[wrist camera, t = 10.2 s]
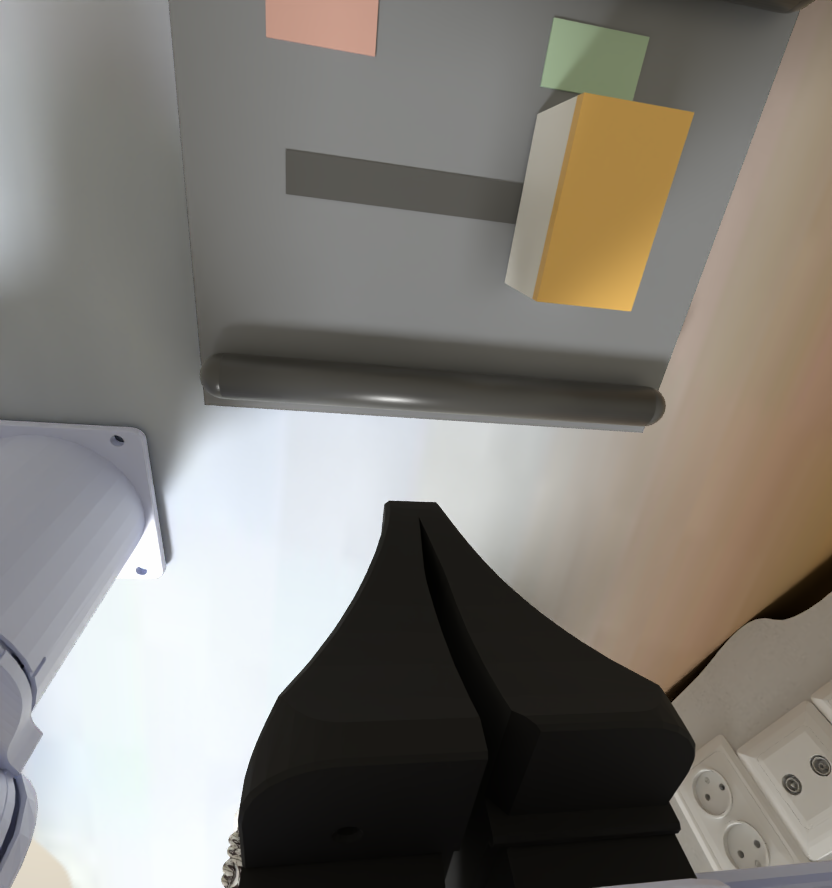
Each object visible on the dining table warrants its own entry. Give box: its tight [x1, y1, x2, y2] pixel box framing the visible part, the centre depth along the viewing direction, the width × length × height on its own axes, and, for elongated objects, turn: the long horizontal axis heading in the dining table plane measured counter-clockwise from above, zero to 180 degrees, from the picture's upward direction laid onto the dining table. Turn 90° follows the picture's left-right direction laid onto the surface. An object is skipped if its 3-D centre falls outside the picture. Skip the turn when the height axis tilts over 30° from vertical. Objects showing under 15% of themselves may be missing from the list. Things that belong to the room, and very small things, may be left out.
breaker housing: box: [169, 0, 815, 433], centre depth 16 cm, size 18×16×4 cm
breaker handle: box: [505, 92, 694, 311], centre depth 14 cm, size 3×5×3 cm, turn 173°
